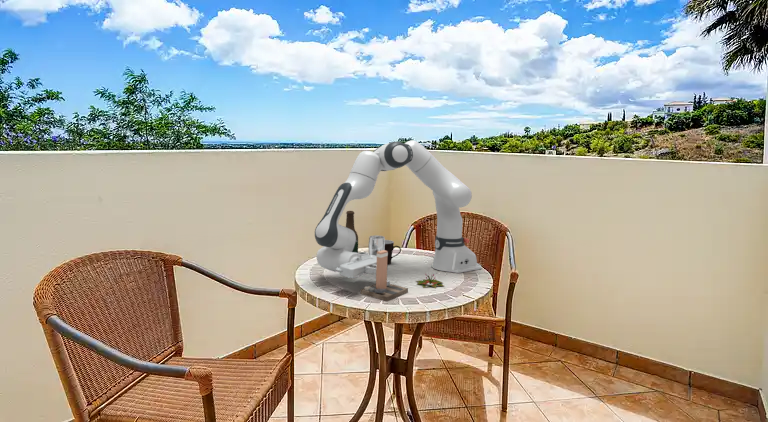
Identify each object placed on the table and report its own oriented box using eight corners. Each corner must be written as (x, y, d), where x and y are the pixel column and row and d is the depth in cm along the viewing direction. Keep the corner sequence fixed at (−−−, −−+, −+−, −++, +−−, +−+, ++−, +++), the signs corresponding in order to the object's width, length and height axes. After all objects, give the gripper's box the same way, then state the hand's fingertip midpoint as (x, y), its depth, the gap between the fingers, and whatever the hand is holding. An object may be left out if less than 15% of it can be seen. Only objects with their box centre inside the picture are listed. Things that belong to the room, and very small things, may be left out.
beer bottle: (355, 266, 201) (356, 212, 197) (338, 265, 202) (339, 212, 198) (359, 262, 208) (360, 210, 205) (343, 260, 209) (343, 209, 206)
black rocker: (374, 292, 161) (374, 290, 161) (378, 290, 162) (378, 288, 162) (382, 293, 158) (382, 290, 158) (386, 291, 160) (386, 288, 160)
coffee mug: (370, 262, 208) (371, 241, 206) (383, 259, 214) (384, 238, 212) (388, 268, 200) (389, 245, 198) (401, 264, 206) (402, 243, 204)
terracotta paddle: (375, 289, 164) (376, 251, 162) (382, 287, 167) (383, 250, 165) (379, 290, 163) (380, 252, 160) (386, 288, 166) (387, 250, 164)
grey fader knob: (381, 284, 170) (381, 280, 169) (384, 283, 171) (384, 279, 171) (387, 286, 168) (387, 282, 168) (389, 285, 170) (390, 280, 169)
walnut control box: (360, 293, 164) (360, 286, 164) (382, 285, 175) (382, 278, 174) (387, 301, 157) (387, 294, 157) (408, 292, 167) (408, 285, 167)
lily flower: (450, 289, 174) (450, 277, 174) (420, 290, 171) (421, 279, 170) (438, 279, 186) (438, 269, 185) (410, 281, 183) (411, 270, 182)
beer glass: (382, 274, 190) (383, 239, 188) (366, 272, 191) (367, 237, 189) (385, 269, 197) (386, 235, 194) (369, 268, 198) (370, 234, 196)
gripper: (332, 261, 164) (361, 268, 156) (368, 251, 180) (396, 257, 172) (332, 277, 165) (361, 285, 157) (367, 266, 181) (395, 273, 173)
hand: (379, 270), depth 164 cm, fingers closed, pressing on terracotta paddle
